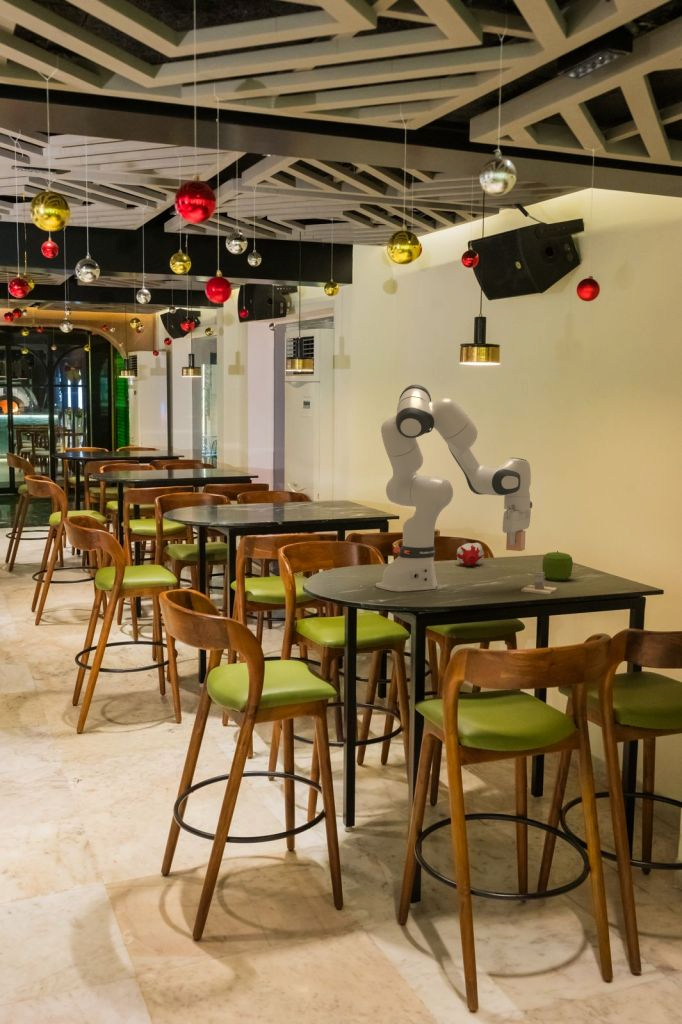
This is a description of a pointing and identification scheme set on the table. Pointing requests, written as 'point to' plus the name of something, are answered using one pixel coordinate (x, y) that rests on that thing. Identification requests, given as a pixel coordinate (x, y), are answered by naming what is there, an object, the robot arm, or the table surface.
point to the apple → (557, 566)
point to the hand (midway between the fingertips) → (515, 543)
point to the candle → (470, 554)
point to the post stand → (539, 585)
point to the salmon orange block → (519, 542)
